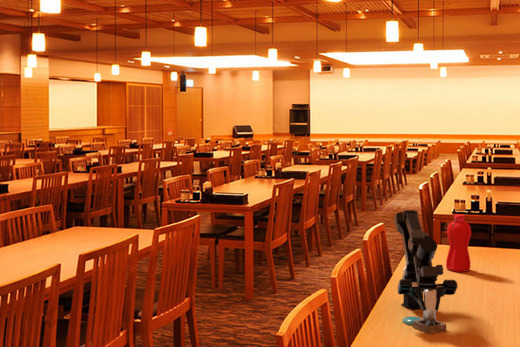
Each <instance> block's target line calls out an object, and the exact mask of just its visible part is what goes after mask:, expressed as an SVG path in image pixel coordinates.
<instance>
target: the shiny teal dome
mask: <svg viewBox="0 0 520 347" xmlns="http://www.w3.org/2000/svg"><path fill="white" fill-rule="evenodd" d="M422 319H423V318H422V317H419V316H405V317H403V318H402V323H403V324H405V325H408V326H413V321H417V320H422Z"/></svg>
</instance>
